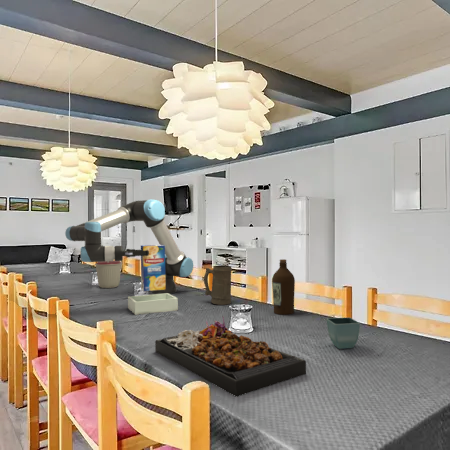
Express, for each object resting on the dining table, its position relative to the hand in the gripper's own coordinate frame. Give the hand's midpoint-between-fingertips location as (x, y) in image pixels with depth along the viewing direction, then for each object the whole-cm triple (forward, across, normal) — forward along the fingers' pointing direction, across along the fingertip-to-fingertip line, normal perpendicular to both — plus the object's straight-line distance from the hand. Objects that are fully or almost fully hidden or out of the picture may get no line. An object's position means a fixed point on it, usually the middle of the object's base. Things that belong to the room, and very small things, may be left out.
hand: (162, 252), depth 206 cm
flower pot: (+52, +83, -29) cm, 102 cm away
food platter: (+10, +85, -30) cm, 91 cm away
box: (-5, 0, -29) cm, 29 cm away
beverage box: (-5, 0, -19) cm, 19 cm away
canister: (-28, -84, -29) cm, 94 cm away
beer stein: (+30, -4, -29) cm, 42 cm away
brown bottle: (+54, +28, -29) cm, 67 cm away
